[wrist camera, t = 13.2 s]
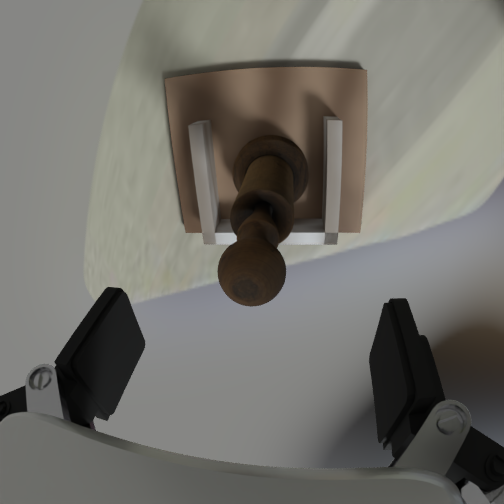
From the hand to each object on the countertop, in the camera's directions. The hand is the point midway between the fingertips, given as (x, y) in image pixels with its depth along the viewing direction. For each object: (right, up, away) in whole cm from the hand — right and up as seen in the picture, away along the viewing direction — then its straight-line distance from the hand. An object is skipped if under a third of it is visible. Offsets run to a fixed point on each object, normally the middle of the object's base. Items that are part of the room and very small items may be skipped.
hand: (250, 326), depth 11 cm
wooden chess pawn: (+2, +10, +18) cm, 20 cm away
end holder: (+2, +12, +17) cm, 21 cm away
